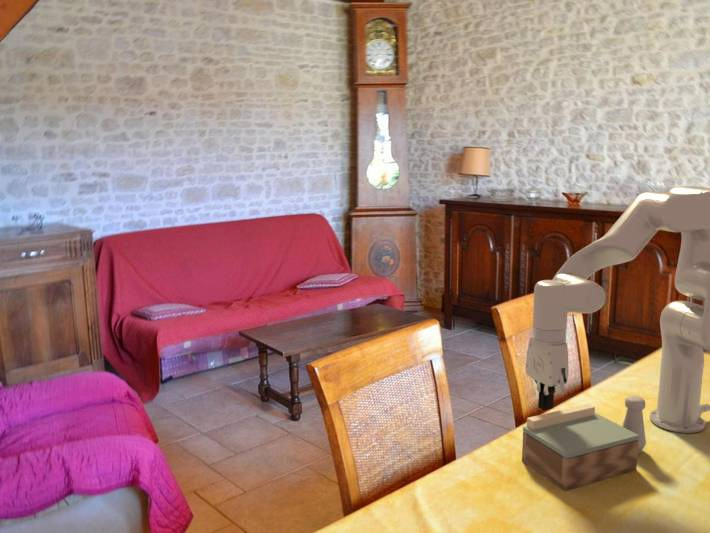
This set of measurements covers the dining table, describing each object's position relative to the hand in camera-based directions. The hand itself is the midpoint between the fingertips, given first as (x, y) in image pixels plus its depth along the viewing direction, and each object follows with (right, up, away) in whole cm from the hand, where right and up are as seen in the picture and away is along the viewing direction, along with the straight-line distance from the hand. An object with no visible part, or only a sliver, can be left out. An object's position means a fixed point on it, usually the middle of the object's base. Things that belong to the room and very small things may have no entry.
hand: (545, 408), depth 151 cm
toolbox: (+5, -11, -8) cm, 15 cm away
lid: (+5, -4, -10) cm, 12 cm away
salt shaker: (+19, -10, -2) cm, 22 cm away
